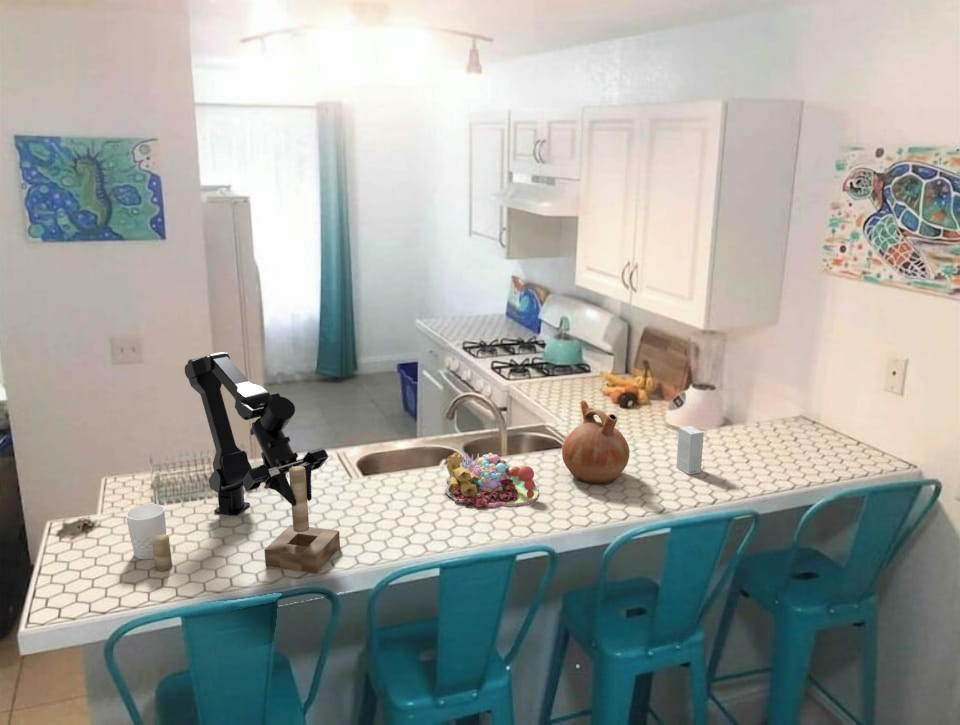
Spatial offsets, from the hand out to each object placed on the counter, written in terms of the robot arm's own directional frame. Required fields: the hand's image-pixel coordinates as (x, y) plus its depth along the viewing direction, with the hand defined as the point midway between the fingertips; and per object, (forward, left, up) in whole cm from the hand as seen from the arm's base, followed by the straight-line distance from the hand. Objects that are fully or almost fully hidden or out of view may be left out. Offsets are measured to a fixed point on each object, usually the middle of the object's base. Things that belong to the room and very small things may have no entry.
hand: (302, 502), depth 173 cm
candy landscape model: (-46, +30, -14) cm, 57 cm away
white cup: (+6, -35, -14) cm, 38 cm away
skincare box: (-72, +81, -14) cm, 109 cm away
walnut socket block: (-1, -1, -13) cm, 14 cm away
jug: (-61, +56, -14) cm, 84 cm away
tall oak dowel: (-1, -1, -7) cm, 7 cm away
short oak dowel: (+11, -28, -13) cm, 33 cm away
